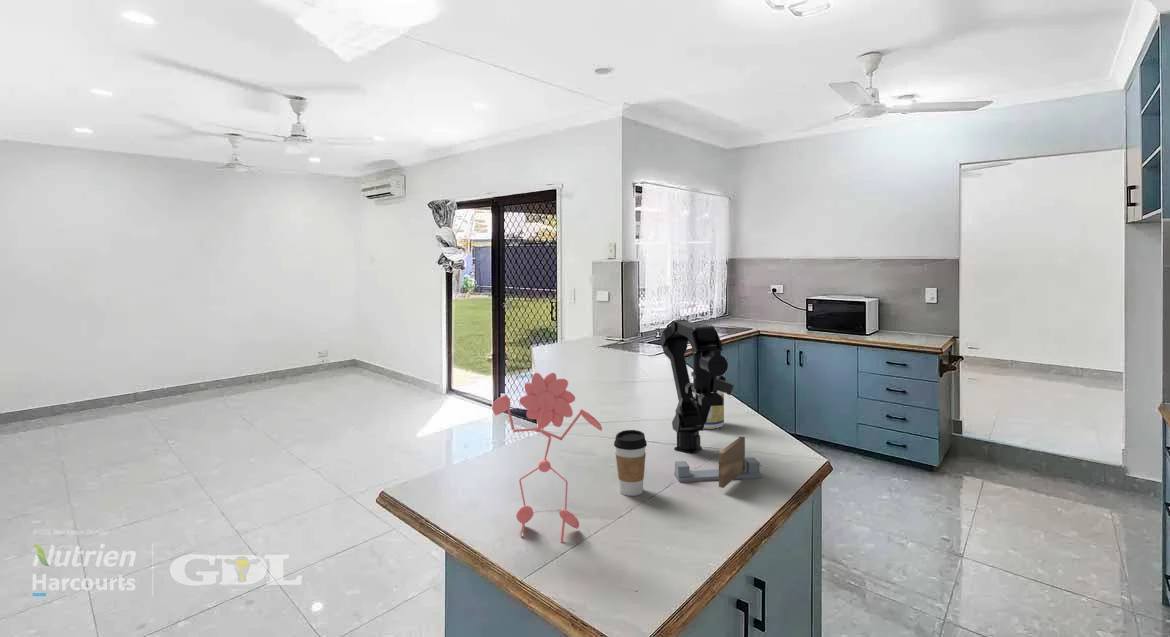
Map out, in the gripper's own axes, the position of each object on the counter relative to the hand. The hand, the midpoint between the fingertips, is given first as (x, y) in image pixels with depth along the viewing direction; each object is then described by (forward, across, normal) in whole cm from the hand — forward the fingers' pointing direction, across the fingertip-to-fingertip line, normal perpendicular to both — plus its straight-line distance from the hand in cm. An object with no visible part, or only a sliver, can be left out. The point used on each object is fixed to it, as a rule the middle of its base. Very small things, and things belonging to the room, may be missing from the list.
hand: (703, 422), depth 157 cm
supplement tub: (+12, +38, -12) cm, 41 cm away
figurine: (+12, -33, +44) cm, 57 cm away
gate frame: (+12, -10, -1) cm, 16 cm away
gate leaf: (+11, -15, -3) cm, 19 cm away
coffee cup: (+12, -17, +24) cm, 32 cm away
